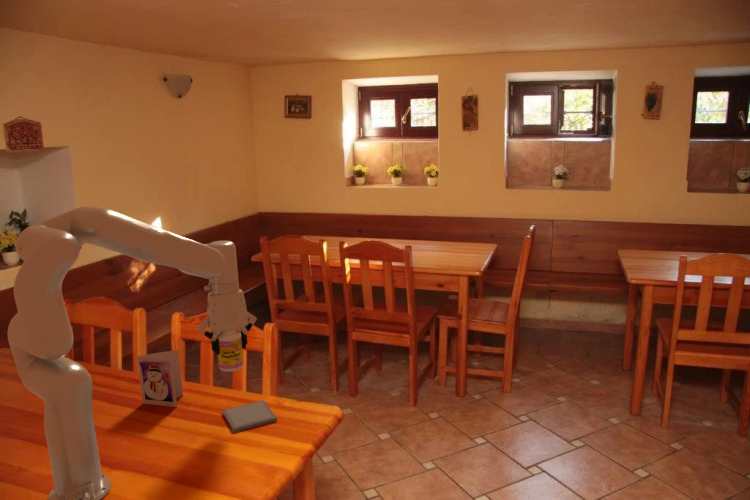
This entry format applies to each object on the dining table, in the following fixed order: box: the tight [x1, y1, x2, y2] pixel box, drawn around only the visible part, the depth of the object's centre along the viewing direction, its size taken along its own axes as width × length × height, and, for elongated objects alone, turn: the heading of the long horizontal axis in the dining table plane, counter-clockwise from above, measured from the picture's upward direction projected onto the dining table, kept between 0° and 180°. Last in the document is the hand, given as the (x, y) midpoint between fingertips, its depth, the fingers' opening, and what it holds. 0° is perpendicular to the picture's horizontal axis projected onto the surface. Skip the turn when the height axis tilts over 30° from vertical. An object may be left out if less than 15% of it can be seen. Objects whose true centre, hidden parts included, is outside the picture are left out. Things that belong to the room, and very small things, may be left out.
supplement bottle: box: [217, 329, 244, 373], centre depth 162 cm, size 7×7×13 cm
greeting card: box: [136, 349, 184, 408], centre depth 176 cm, size 11×7×15 cm, turn 76°
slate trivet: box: [222, 399, 278, 433], centre depth 166 cm, size 12×12×1 cm
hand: (230, 349), depth 162 cm, fingers closed on supplement bottle, 6 cm apart
